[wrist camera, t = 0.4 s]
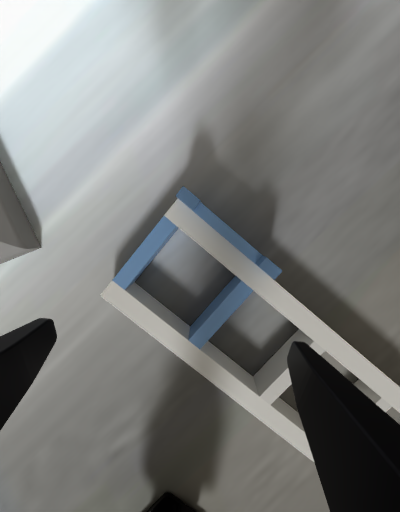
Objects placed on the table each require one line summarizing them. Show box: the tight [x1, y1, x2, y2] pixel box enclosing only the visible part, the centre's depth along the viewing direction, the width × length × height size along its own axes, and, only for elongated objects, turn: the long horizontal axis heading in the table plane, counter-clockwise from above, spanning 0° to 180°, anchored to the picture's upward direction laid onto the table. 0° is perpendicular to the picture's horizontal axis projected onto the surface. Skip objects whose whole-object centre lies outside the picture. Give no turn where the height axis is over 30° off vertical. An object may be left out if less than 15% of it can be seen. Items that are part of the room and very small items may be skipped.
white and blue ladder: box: [100, 186, 400, 463], centre depth 22 cm, size 13×49×5 cm, turn 50°
